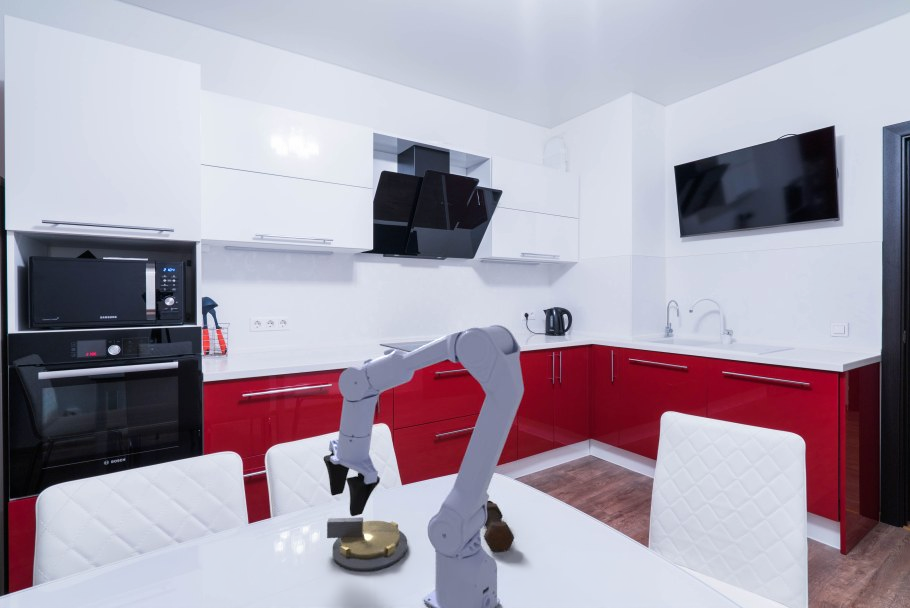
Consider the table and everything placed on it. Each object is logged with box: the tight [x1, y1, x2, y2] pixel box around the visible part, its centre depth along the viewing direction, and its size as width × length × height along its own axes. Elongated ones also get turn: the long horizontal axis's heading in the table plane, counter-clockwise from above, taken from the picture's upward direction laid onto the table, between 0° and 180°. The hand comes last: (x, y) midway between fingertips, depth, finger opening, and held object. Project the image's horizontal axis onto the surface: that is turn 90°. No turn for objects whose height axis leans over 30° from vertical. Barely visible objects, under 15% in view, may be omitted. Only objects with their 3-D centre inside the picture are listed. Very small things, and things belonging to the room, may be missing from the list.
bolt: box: [483, 500, 515, 553], centre depth 93 cm, size 6×5×15 cm
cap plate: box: [332, 530, 408, 573], centre depth 86 cm, size 14×14×1 cm
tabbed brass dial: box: [326, 516, 400, 559], centre depth 86 cm, size 12×12×4 cm
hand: (346, 503), depth 82 cm, fingers open, 7 cm apart
